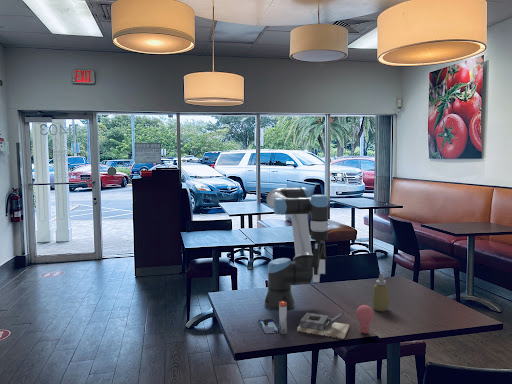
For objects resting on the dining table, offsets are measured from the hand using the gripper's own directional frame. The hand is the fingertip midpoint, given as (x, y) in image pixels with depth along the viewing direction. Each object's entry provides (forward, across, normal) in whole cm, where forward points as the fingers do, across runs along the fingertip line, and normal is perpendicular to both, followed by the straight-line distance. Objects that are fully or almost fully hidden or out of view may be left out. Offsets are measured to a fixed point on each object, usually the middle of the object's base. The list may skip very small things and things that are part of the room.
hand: (319, 277), depth 182 cm
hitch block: (+21, -5, -3) cm, 22 cm away
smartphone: (+22, -9, +20) cm, 31 cm away
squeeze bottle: (+22, +28, -25) cm, 43 cm away
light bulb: (+22, -3, -20) cm, 30 cm away
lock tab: (+17, -5, -8) cm, 19 cm away
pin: (+21, -14, +13) cm, 28 cm away
